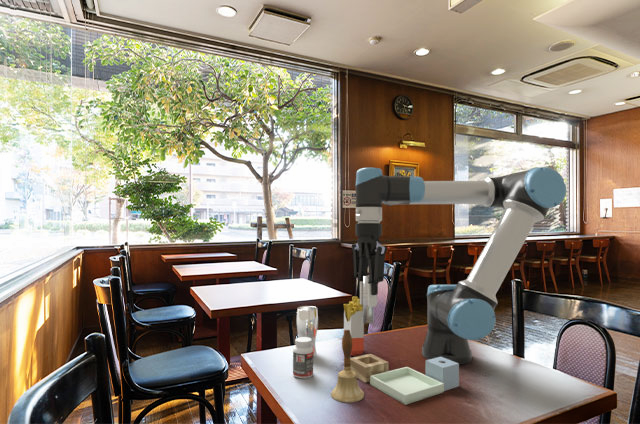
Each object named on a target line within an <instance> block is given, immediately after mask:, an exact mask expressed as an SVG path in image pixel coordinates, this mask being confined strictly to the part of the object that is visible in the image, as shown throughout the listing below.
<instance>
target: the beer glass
mask: <svg viewBox="0 0 640 424" xmlns="http://www.w3.org/2000/svg"><path fill="white" fill-rule="evenodd" d="M296 311H297V312H296V330H297V331H296V332H297V336H298V337H297V338H299V337H309V338H311V339H312V344H311V347H312V348H313V358H314V357H316V356H317V348H316V340H317V339H316V338H317V333H318V327H319V316H318V314H319V313H318V312H319V311H318V307H316V306H313V305H302V306H298V307H297V310H296Z"/></svg>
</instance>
